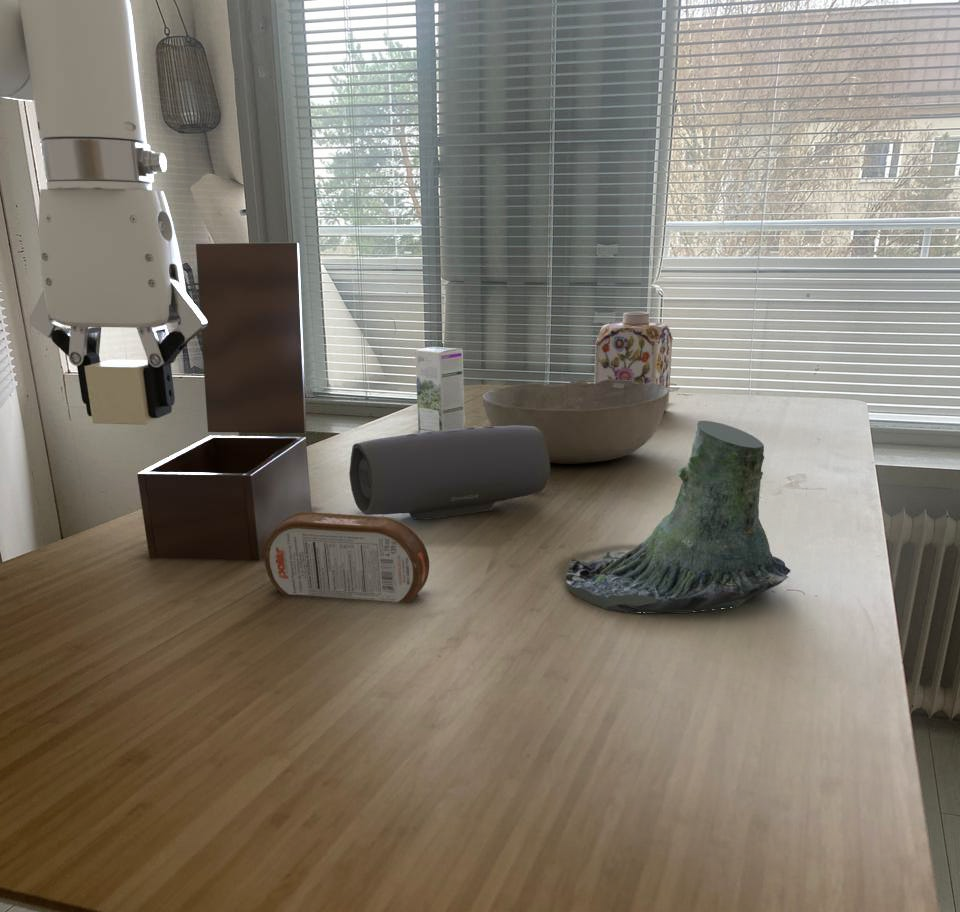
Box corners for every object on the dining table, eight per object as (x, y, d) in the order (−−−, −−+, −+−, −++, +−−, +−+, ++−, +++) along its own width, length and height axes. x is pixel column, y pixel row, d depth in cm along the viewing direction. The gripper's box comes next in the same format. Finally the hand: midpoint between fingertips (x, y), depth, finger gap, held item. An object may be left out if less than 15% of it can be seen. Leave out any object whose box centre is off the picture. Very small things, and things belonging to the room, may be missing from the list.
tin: (431, 606, 89) (429, 515, 85) (422, 618, 86) (418, 525, 82) (278, 594, 92) (269, 507, 88) (264, 606, 89) (254, 516, 86)
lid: (297, 242, 107) (310, 248, 112) (195, 243, 108) (212, 249, 113) (304, 433, 112) (317, 431, 117) (207, 432, 113) (223, 430, 118)
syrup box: (466, 438, 162) (464, 347, 156) (441, 443, 158) (439, 350, 152) (441, 434, 165) (439, 345, 160) (416, 439, 161) (413, 348, 156)
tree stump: (601, 550, 105) (652, 386, 97) (779, 621, 99) (849, 451, 91) (532, 593, 90) (586, 403, 82) (737, 681, 83) (817, 483, 75)
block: (92, 423, 79) (83, 366, 77) (117, 413, 83) (110, 359, 81) (145, 424, 78) (138, 367, 77) (168, 415, 82) (161, 360, 81)
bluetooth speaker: (516, 493, 127) (517, 415, 123) (551, 509, 119) (553, 427, 115) (350, 514, 118) (344, 431, 114) (376, 534, 110) (371, 445, 106)
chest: (260, 571, 98) (250, 475, 95) (150, 568, 100) (136, 473, 96) (312, 519, 116) (306, 436, 113) (218, 517, 118) (209, 435, 114)
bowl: (687, 446, 154) (691, 381, 150) (628, 483, 131) (632, 408, 127) (529, 433, 165) (529, 372, 162) (450, 465, 143) (448, 396, 139)
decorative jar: (669, 410, 186) (675, 310, 179) (654, 420, 176) (659, 315, 169) (609, 406, 190) (613, 309, 183) (590, 416, 180) (594, 314, 173)
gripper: (224, 172, 76) (244, 409, 83) (19, 172, 78) (56, 404, 85) (186, 166, 69) (212, 425, 76) (-37, 167, 71) (9, 420, 78)
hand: (130, 411), depth 80 cm, fingers closed on block, 4 cm apart
